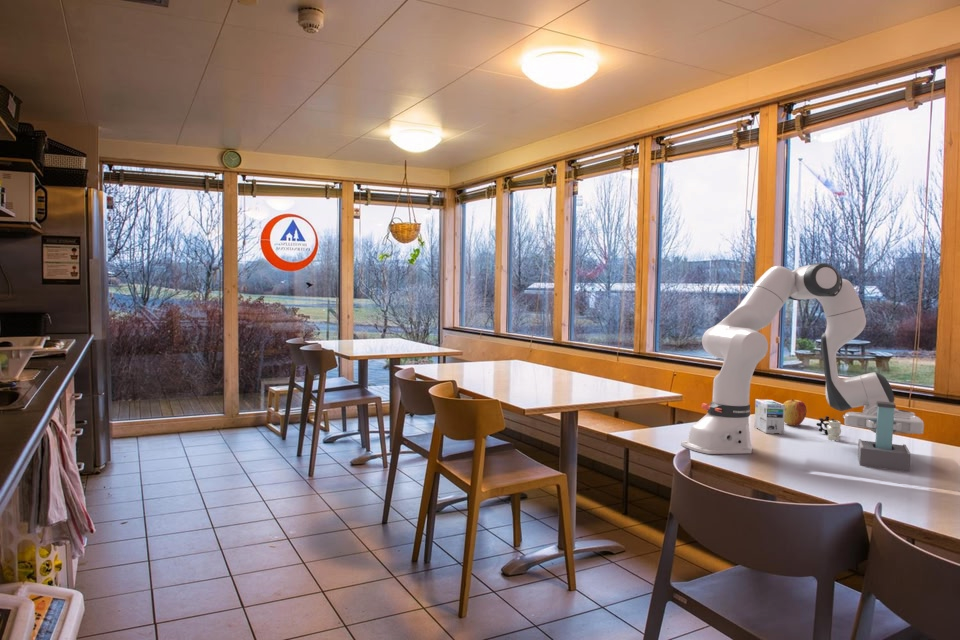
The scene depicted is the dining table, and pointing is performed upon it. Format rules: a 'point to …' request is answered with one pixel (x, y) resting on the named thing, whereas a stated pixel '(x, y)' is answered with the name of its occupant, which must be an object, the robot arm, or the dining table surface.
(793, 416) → the apple
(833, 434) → the valve
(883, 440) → the plug
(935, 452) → the dining table surface
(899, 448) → the grey socket base
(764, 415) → the light bulb box
